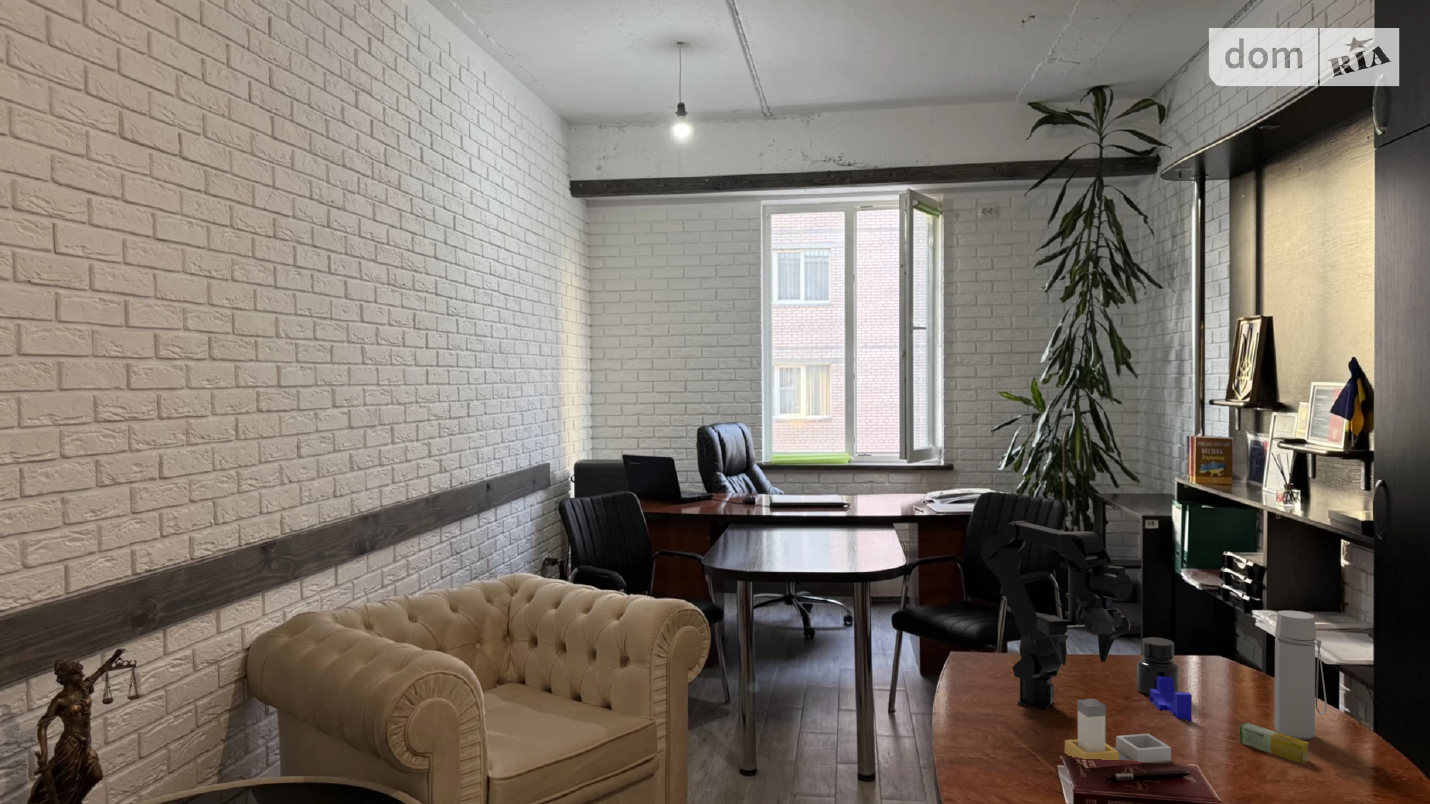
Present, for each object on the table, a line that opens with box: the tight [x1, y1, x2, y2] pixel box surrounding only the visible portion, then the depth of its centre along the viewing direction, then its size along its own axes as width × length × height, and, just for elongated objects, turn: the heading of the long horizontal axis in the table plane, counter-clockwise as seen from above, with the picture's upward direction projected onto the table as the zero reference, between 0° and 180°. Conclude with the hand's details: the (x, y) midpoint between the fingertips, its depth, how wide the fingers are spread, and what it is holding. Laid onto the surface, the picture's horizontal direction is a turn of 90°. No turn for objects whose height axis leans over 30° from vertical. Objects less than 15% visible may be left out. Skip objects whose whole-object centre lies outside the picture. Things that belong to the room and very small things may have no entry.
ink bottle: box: [1136, 636, 1180, 696], centre depth 213 cm, size 10×9×12 cm
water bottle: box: [1274, 610, 1327, 740], centre depth 187 cm, size 9×8×25 cm
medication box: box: [1239, 722, 1309, 765], centre depth 179 cm, size 12×3×4 cm, turn 32°
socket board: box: [1063, 733, 1174, 764], centre depth 176 cm, size 18×8×3 cm, turn 99°
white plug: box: [1076, 698, 1107, 753], centre depth 175 cm, size 4×4×11 cm
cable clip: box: [1149, 676, 1193, 722], centre depth 201 cm, size 12×4×6 cm, turn 173°
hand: (1083, 663), depth 195 cm, fingers open, 9 cm apart
